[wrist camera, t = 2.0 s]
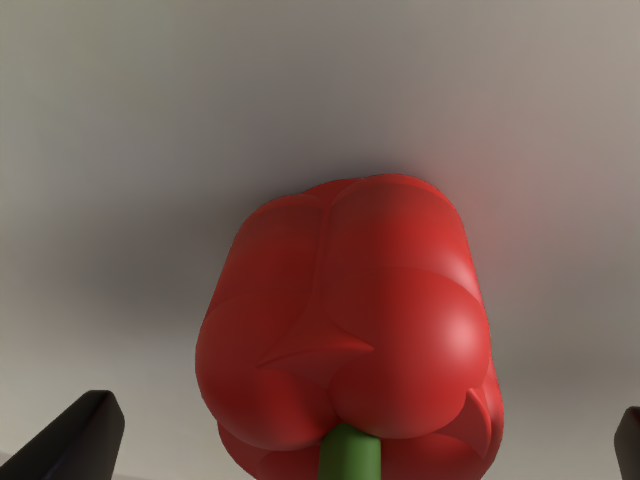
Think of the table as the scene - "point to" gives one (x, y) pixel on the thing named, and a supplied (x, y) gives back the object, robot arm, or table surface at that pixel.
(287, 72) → the table surface
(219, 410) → the pepper
